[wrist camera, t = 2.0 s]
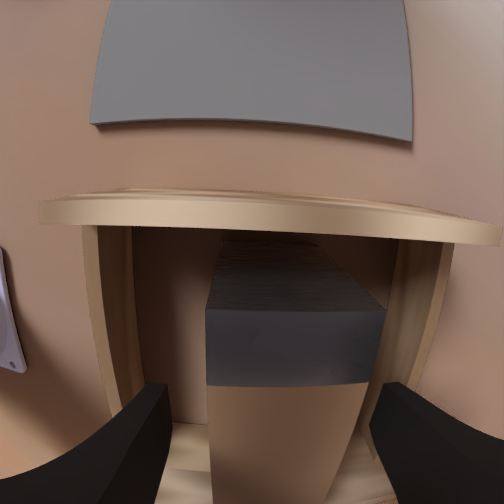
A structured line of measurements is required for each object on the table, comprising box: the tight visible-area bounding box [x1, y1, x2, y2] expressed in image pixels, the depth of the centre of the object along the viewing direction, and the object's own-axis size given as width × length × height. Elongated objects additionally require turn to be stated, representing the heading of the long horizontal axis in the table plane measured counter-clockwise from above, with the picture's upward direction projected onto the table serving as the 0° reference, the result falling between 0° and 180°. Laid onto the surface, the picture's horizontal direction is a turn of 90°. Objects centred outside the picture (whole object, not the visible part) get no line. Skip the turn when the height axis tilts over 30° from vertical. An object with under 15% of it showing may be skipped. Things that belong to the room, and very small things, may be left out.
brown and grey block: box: [205, 241, 387, 504], centre depth 11 cm, size 4×9×7 cm, turn 177°
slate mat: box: [89, 0, 412, 142], centre depth 10 cm, size 14×11×1 cm
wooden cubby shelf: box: [39, 189, 503, 504], centre depth 11 cm, size 13×13×6 cm
